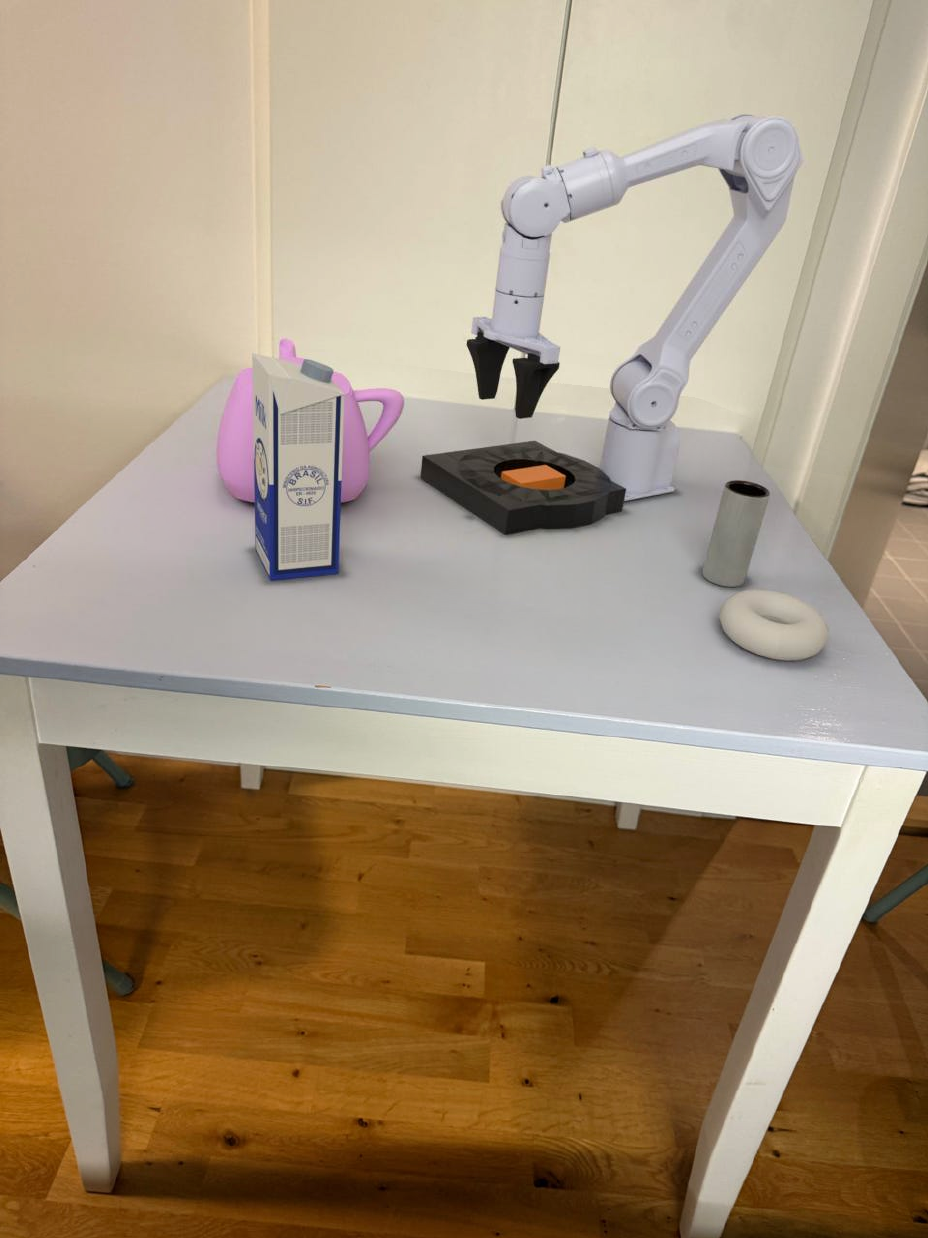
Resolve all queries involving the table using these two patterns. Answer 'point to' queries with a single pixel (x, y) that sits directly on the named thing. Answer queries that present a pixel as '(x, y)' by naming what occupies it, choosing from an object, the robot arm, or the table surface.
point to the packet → (535, 478)
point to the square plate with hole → (516, 507)
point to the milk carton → (297, 467)
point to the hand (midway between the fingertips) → (505, 407)
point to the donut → (774, 625)
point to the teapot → (357, 446)
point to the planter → (735, 532)
